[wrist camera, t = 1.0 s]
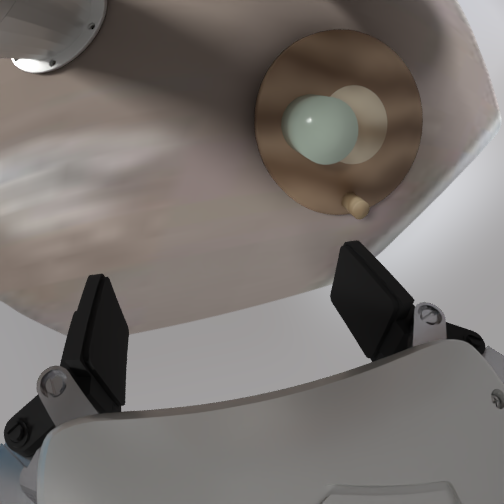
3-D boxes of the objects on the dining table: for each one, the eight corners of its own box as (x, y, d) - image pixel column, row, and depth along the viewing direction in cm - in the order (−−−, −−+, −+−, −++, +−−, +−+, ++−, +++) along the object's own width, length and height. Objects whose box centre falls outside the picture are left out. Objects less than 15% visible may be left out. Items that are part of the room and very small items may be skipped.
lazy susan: (249, 21, 21) (262, 11, 17) (418, 52, 25) (441, 54, 22) (257, 221, 35) (268, 240, 31) (403, 201, 39) (421, 214, 36)
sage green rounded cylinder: (280, 93, 25) (296, 95, 22) (339, 95, 26) (359, 99, 23) (281, 156, 29) (295, 166, 26) (337, 153, 30) (355, 163, 27)
